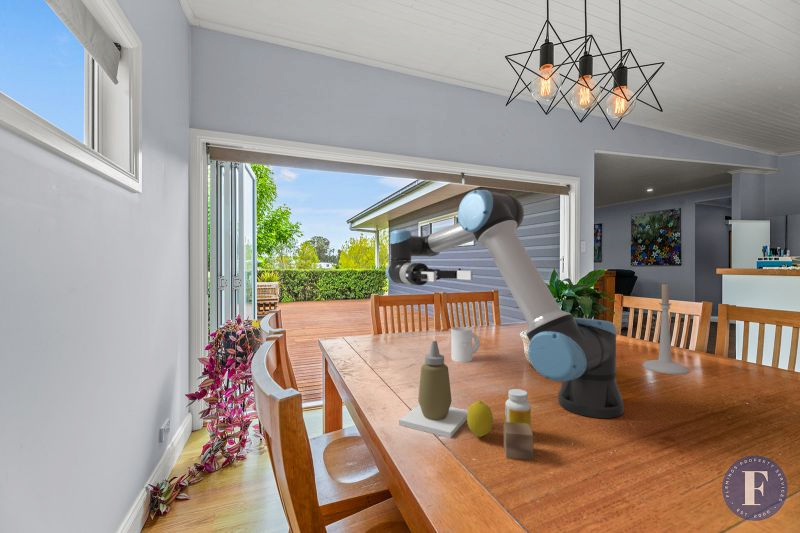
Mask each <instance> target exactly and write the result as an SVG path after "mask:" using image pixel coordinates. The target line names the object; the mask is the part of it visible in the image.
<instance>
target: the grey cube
mask: <svg viewBox="0 0 800 533" xmlns="http://www.w3.org/2000/svg"><path fill="white" fill-rule="evenodd" d="M503 449H504V454H505V459H511V460H521V461H522V460H525V461H534V434H533V432H532V428H531V429H530V426H529V424H524V423H509V422H505V421H503Z"/></svg>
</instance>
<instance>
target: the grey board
mask: <svg viewBox="0 0 800 533" xmlns="http://www.w3.org/2000/svg"><path fill="white" fill-rule="evenodd" d="M468 410H469V409H463V408H457V407H453V406H450V408H449V411H448V414H447V416H446V417H445V418H443V419H429V418H426V417H424V415H423V413H422V410H421V407H420V404H419V403H418V404H417V405H416V406H415V407H414V408H413V409H411V410H410V411H409V412H407V413H406V414H404V415H403V416H402V417H401V418H399V419H398V425H399V426H401V427H406V428H410V429H413V430H418V431H422V432H425V433H429V434H433V435H438V436H441V437H445V438H450V439H451V438H452V437H453V436H454V435H455V433H456V432H457V431H458V430H460V428H461V427H462V426H463V425H464V423H465V422H467V414H468Z"/></svg>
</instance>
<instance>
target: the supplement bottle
mask: <svg viewBox="0 0 800 533" xmlns="http://www.w3.org/2000/svg"><path fill="white" fill-rule="evenodd" d="M528 396H529V395H528V392H527V391H526V390H525V389H524V390H523V389H520V388H512V389H509V390H508V399H507V400H506V401H505V402H504V403H505V404H504V413H505V414H504V416H505V417H504V422H509V423H524V424H529V426H530V429H531V430H532V428H531V427H532V426H531V425H532V424H531V422H532V420H531V419H532V418H531V417H532V416H531V415H532V414H531V412H532V411H531V409H532V408H531V403H530V402H529V401H528V399H529V398H528Z"/></svg>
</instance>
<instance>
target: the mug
mask: <svg viewBox="0 0 800 533" xmlns="http://www.w3.org/2000/svg"><path fill="white" fill-rule="evenodd" d="M450 330H451V332H450V339H451V340H450V342H451V343H450V344H451V345H450V348H451V350H450V353H451V354H450V355H451V356H450V357H451V360H452V361H453V362H456V363H470V362H472V361H473V355H474V354H476V352H477V351H478V350H479V348H480V345H481V339H480V338H479V335H477V334H476V333H475V332H473V329H472V328H471V327H467V326H455V327H452V328H451V329H450ZM473 340H474V345H473Z"/></svg>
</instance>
